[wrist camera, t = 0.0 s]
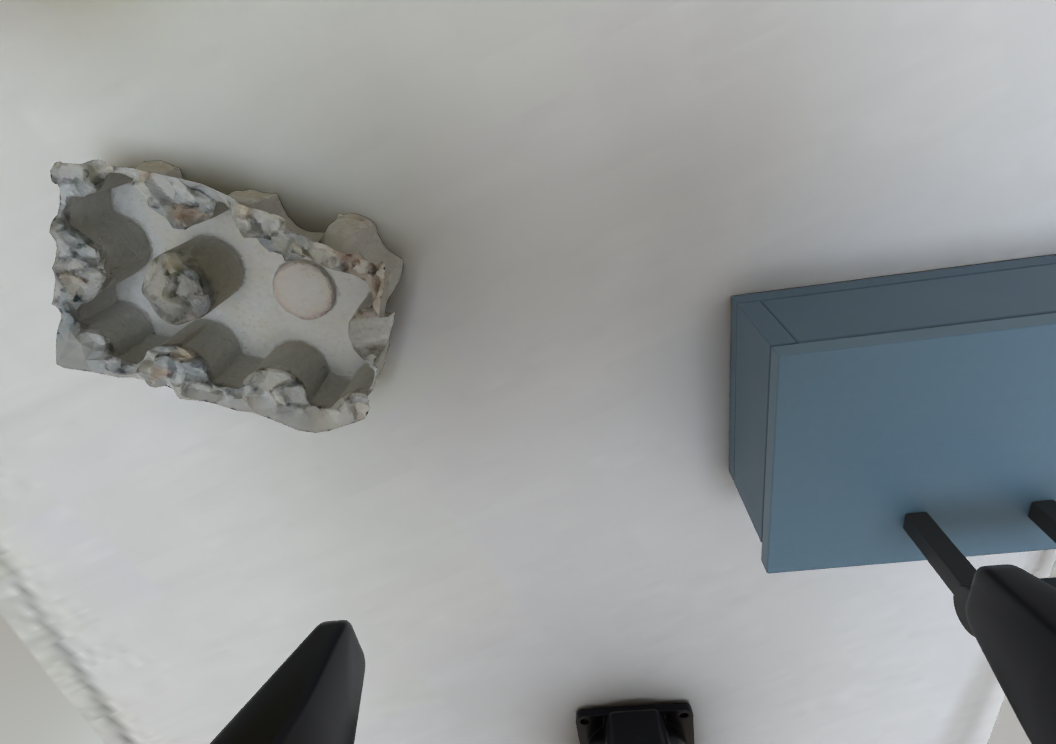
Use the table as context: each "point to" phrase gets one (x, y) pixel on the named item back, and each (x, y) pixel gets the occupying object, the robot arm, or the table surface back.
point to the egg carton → (219, 294)
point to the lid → (913, 449)
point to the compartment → (859, 334)
